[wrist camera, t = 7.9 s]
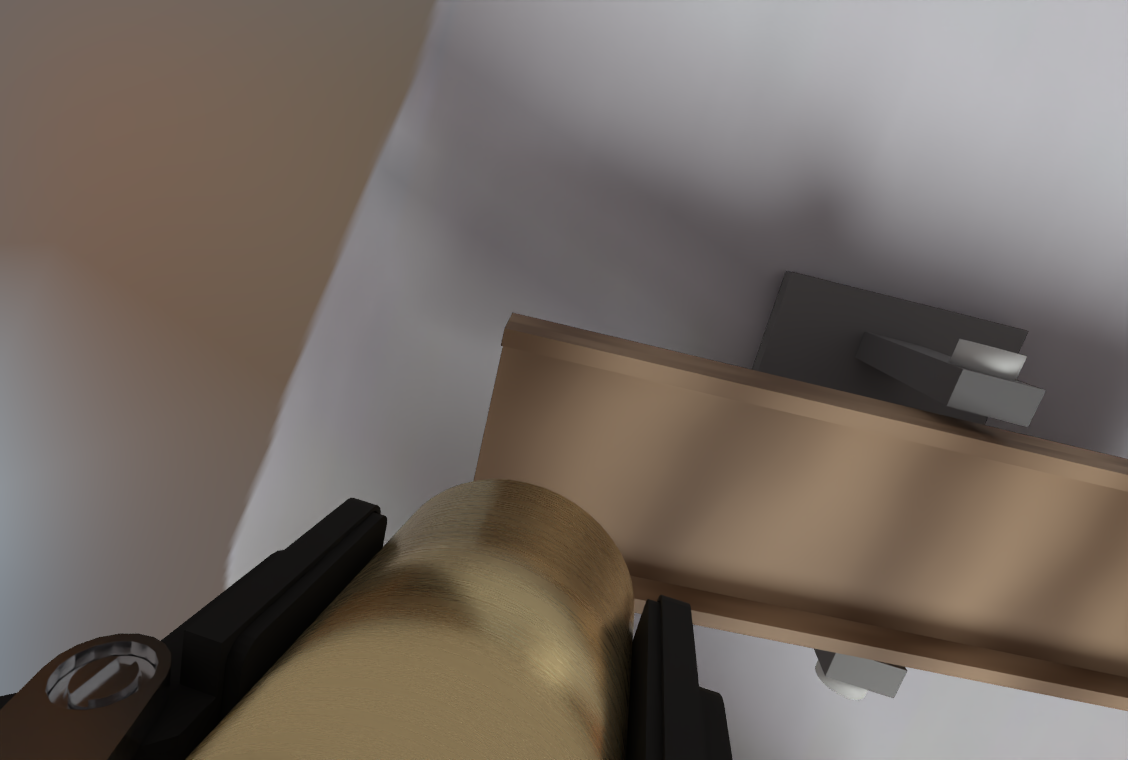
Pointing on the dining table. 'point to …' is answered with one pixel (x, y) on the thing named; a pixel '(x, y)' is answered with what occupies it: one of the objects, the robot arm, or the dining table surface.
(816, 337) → the beam stand
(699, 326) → the dining table surface
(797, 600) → the balance beam
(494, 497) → the brass weight
